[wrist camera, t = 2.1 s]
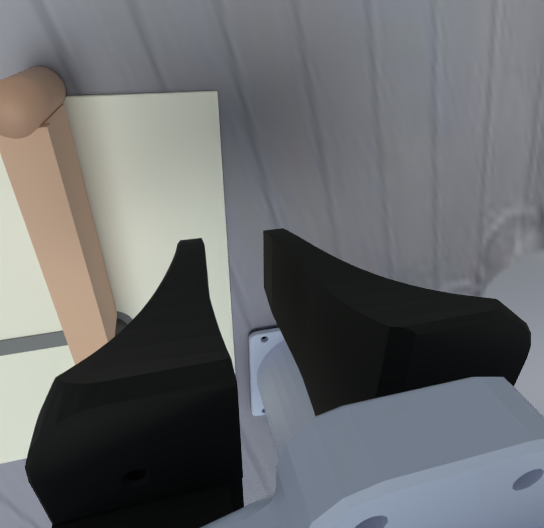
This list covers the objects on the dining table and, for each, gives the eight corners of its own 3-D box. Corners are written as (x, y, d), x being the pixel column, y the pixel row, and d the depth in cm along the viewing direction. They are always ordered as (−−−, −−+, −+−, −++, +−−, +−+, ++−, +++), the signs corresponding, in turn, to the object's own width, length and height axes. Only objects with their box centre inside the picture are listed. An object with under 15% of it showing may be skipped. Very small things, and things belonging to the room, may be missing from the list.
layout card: (216, 90, 18) (217, 92, 18) (237, 409, 30) (238, 413, 29) (-358, 111, 14) (-370, 113, 14) (-74, 475, 25) (-76, 481, 25)
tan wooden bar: (59, 65, 16) (29, 81, 12) (120, 313, 22) (114, 377, 18) (14, 67, 15) (-32, 83, 11) (90, 317, 22) (77, 383, 18)
